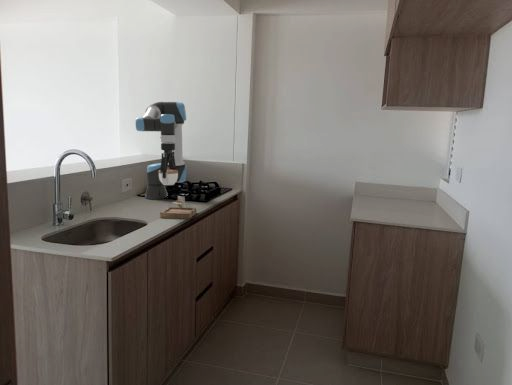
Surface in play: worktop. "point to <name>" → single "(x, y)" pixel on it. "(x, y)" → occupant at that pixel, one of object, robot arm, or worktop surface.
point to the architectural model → (180, 201)
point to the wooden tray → (178, 212)
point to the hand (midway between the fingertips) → (168, 182)
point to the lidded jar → (170, 176)
